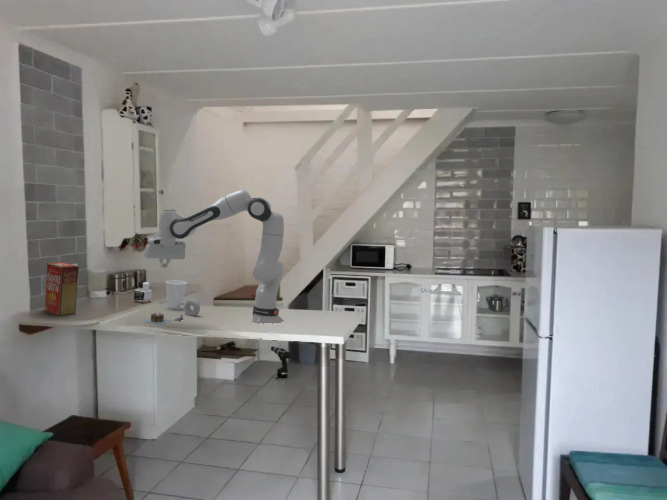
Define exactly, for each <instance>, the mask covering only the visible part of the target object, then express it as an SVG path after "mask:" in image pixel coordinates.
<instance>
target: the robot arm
mask: <svg viewBox="0 0 667 500" xmlns="http://www.w3.org/2000/svg"><path fill="white" fill-rule="evenodd" d="M271 207H272V206H271V204H270V202H269V201H268V200H267V199H265V198H263V197H252V196H251V195H250V193H249V192H248V191H247V190H245V189H239V190H238V189H237V190H235V191H232V192H230V193H228V194H225V195H223V196H221V197H220V198H219V199H217V200H215V201H214V202H213V203H211V204H210V205H209V206H207V207H206V208H205V209H203V210H200V211H199V212H196V213H195V214H193V215H190V216H188V217H187V216H185V215H182V214H181V213H180V212H179V211H177V210H176V209H165V210H162V211H161V212H160V216H159V221H158V232H157V233H158V234H157V236H154V237H150V238H148V239H147V244H145V248H144V255H143V256H144V257H145V258H146V259H156V260H157V259H158V261H159V263H160V267H161V268H168V265H169V263H170V262H171V260H184V259H185V258H186V246H187V245H186V243H185V242H184V241H179V240H182V239H185V238H187V237H189V236H192V235H193V234H194V233H195V232H196V230H197V228H199V227H201V226H203V225H204V224H207V223H209V222H213V221H219V220H225V219H228V218H231V217H234V216H235V215H238V214H240V213H242V212H248V215H250V217H251V218H253V219H255V220H257V221H260V222H262V232H261V242H260V247H259V248H260V249H259V253H258V256H257V260H256V263H255V266H254V267H253V270H252V275H253V277H254V279H255V280H256V281H258V282H259V284H258V286H257V288H256V291H255V298H254V305H253V308H252V319H251V323H252V322H254V323H257V324H259V323H263V324H264V323H272V324H273V323H281V322H283V321H285V320H284V319H283V317H281V316H280V315H279V314H280V308H277V307H276V306H277V297H278V291H279V287H280V284H281V280H282V276H283V273H284V271H285V269H284V264H283V263H282V262H281V261H280V260H279V258H280V255H281V253H282V250H283V244H284V235H285V233H284V232H285V223H284V217H283V215H282V214H280V213H279V212H273V211H272V208H271ZM176 239H178V241H176ZM164 260H166V261H165V263H164V262H163V261H164Z"/></svg>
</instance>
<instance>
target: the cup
mask: <svg viewBox="0 0 667 500" xmlns="http://www.w3.org/2000/svg"><path fill="white" fill-rule="evenodd" d="M187 284H188V283H187V282H186V281H182V280H174V279H173V280H166V281H165V289H166V291H165V292H166V293H165V294H166V305H167V308H168V309H171V310H179V311H180V310H181V307H182V304H183V301H184V298H185V297H184V296H185V293H186V288H187Z"/></svg>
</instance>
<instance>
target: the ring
mask: <svg viewBox="0 0 667 500" xmlns="http://www.w3.org/2000/svg"><path fill="white" fill-rule="evenodd" d="M156 313H157V312H156ZM156 313H151V315H150V318H151V321H153V322H162V321H163V320H164V319H165V318H164V317H165V315H164V313H160V316H156Z"/></svg>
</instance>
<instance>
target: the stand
mask: <svg viewBox="0 0 667 500" xmlns="http://www.w3.org/2000/svg"><path fill="white" fill-rule="evenodd" d="M183 319H184V313H180V315H179V317H177V318H175V319H173V321H175V322H181V320H183Z"/></svg>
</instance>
